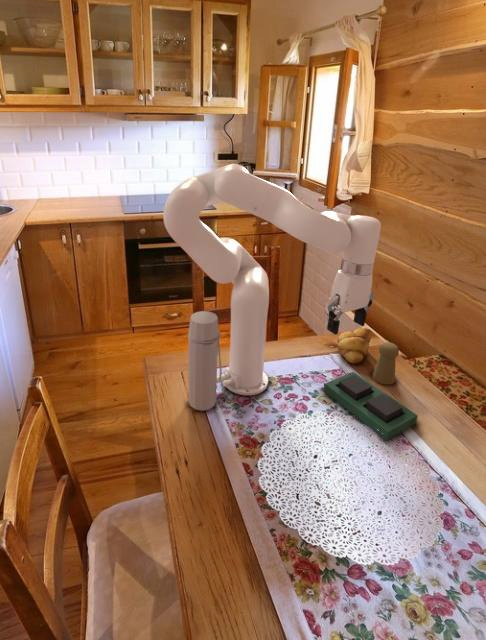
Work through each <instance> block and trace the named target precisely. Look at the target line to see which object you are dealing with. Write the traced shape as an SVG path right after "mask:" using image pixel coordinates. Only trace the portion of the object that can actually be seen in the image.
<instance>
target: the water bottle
mask: <svg viewBox="0 0 486 640" xmlns="http://www.w3.org/2000/svg"><path fill="white" fill-rule="evenodd" d="M187 335H188V403H189V406H190V407H191V408H192V409H194V410H196V411H200V412H203V411H210V410H211V409H212V408H213V407H215V405H216V402H217V385H218V384H219V383H218V382H220V381H221V376H222V374H223V371H222V370H223V369H222V358H221V348H220V347H221V346H220V339H221V336H222V334H221V331H220V329H219V317H218V316H217V314H216V313H214V312H211V311H207V310H201V311H196V312H193V313H192V314H191V316H190V319H189V328H188V333H187ZM218 366H219V374H218ZM218 375H219V380H218V381H217V376H218ZM220 383H221V382H220Z"/></svg>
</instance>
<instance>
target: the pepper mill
mask: <svg viewBox="0 0 486 640" xmlns="http://www.w3.org/2000/svg"><path fill="white" fill-rule="evenodd" d="M378 353H379V355H378V358H377V362H376V364H375V367H374V369H373V373H372V379H374V381H376V382H377V383H380V384H382V385H393V384H395V382H396V361H397V357H398V356H399V354H400V349H399V347H398V346H397V345H396V344H395V343H394V342H389V341H385V342H382V343H380V344H379V347H378Z"/></svg>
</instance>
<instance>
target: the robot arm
mask: <svg viewBox="0 0 486 640" xmlns="http://www.w3.org/2000/svg"><path fill="white" fill-rule="evenodd" d="M221 202H225V203H226V204H228V205H231V206H233V207H235V208H238V209H239V210H241V211H244V212H247V213H249V214H251V215H253V216H256V217H258V218H260V219H261V220H264V221H266V222H268V223H270V224H272V225H274V226H275V227H276V228H278V229H280V230H282V231H283V232H285V233H287V234H288V235H290V236H292V237H294V238H295V239H297V240H298V241H301V242H303V243H305V244H306V245H307V244H308V245H310V246H312V247H314V248H316V249H319V250H321V251H324V252H326V253H339V252H342V255H341V261H340V262H341V263H340V268H339V270H338V271H337V272H336V274H335V278H334V281H333V284H332V287H331V292H330V297H329V300H328V301H326V302H325V303H324V304H323V308H324V311H325V312H324V313H325V314H326V316H327V317H328V319H327V325H326V330H327V331H328V332H330V333H332V334H333V335H335V336H336V335H338V334H339V329H340V323H341V320H340V318H341V316H342V315H343V313H349V312H352V311H353V312H354V316H353V322H354V323H355V324H358V325H359V326H361V327H364V326H365V324H366V320H367V314H368V312H369V311H370V307H371V305H372V304H373V301H374V299H375V298H376V296H377V295H376V293H375V292H373V291H372V288H373V287H372V286H373V270H374V264H375V260H376V256H377V255H376V254H377V250H378V244H379V241H380V240H379V239H380V235H381V229H382V224H381V221H380V220H379V219H378V218H376V217H372V216H370V215H369V216H368V215H350V214H345V213H340V212H336V211H323V212H320V211H319V212H318V211H317V210H315V209H313V208H311V207H309V206H308V205H306V204H304V203H303V202H302V201H300V200H299V199H298V198H296V197H295V195H293V193H291V192H290V191H288V190H287V189H286V188H283V187H281V186H278V185H277V184H274V183H271V182H270V181H267V180H265V179H263V178H260V177H258V176H256V175H254V174H252V173H250V171H248V170H247V169H246V167H244V166H243V165H241V164H238V163H229V164H227V165H225V166H221V167H219V168H216V169H214V170H211V171H208V172H204V173H202V174H199V175H195V176H193V177H190V178H187V179H185V180H184V181H182V182H181V183H179V184H178V185H177V186H175V188H173V189H172V190H171V192H170V193H169V194H168V196H167V199H166V201H165V204H164V208H163V212H162V213H163V214H162V215H163V217H162V218H163V224H164V228H165V229H166V232H167V233H168V235H169V236H170V237H171V239H172V240H173V241H174V242H175V243H176V244H177V245H178V246H179V247H180V248H181V249H182V250H183V251H184V252H185V253H186V254H187V255H188V256H189V257H190V259H191V260H192V261H193V262H194V263H195V264H196V265H198V267H199V268H200V269H201V270H202V271H203V272H204V273H205V274H206V275H207V276H208V277H209V278H210V279H211V280H212V281H214V282H215V283H217V284H221V285H226V284H230V283H231V284H232V289H231V295H230V336H229V337H230V339H229V364H228V366H227V367H225V371H223V372H222V376H221V381H220V382H218V383H217V384H220V383H222V386H223V387H225V388H226V389H227V390H228V391H230V392H232V393H234V394H236V395H241V396H255V395H258V394H261V393H263V392H264V391H265V390H266V389H267V388H268V386H269V377H268V375H267V373H265V372H266V371H264V367H265V355H266V354H265V353H266V338H267V324H268V313H269V307H270V306H269V305H270V287H269V284H270V283H269V277H268V274H267V272H266V271H265V269H264V268H263V267H262V266H261V265H260V264H259V263H258V261H256V260H255V259H254V257H253V256H252V255H251V254H250V253H249V252H248V251H247V250H246V249H245V248H244V247H243V246H242V245H241V244H240V243H239V242H237V241H236V240H235V239H234V238H231V237H218V236H217V235H216V234H215V232H214V231H213V230H212V229H211V228H210V227H209V226H207V224H205V223H203V221H202V220H201V218H200V215H201V213H202V212H203V210H204V209H205V208H206V207H209V206H212V205H215V204H219V203H221ZM336 311H337V312H336ZM335 312H336V313H335ZM219 375H220V374H217V381H218V380H219Z"/></svg>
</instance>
